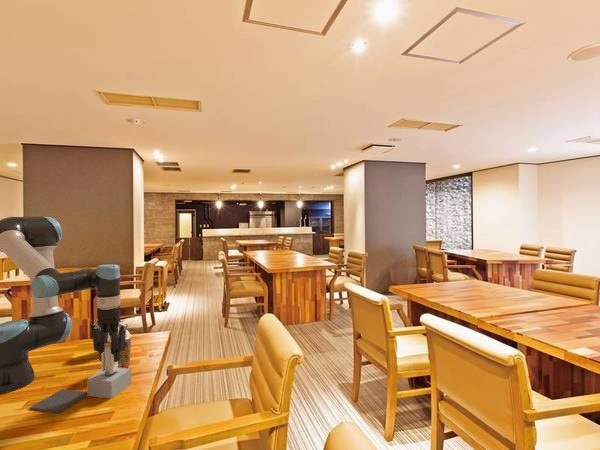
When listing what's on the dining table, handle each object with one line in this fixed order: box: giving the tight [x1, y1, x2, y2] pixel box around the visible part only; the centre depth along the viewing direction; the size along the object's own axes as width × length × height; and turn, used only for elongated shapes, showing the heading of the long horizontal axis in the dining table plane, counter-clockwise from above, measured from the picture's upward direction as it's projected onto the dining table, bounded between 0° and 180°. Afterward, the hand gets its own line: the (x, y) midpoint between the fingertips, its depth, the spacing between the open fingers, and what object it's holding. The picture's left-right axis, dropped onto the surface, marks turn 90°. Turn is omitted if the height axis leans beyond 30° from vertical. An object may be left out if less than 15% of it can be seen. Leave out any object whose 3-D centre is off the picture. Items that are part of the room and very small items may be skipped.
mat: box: [29, 388, 88, 414], centre depth 115 cm, size 12×12×1 cm
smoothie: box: [109, 329, 132, 369], centre depth 139 cm, size 8×8×20 cm
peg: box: [104, 340, 115, 377], centre depth 122 cm, size 3×3×18 cm
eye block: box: [86, 368, 132, 399], centre depth 123 cm, size 10×10×6 cm
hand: (109, 369), depth 122 cm, fingers closed on peg, 3 cm apart
